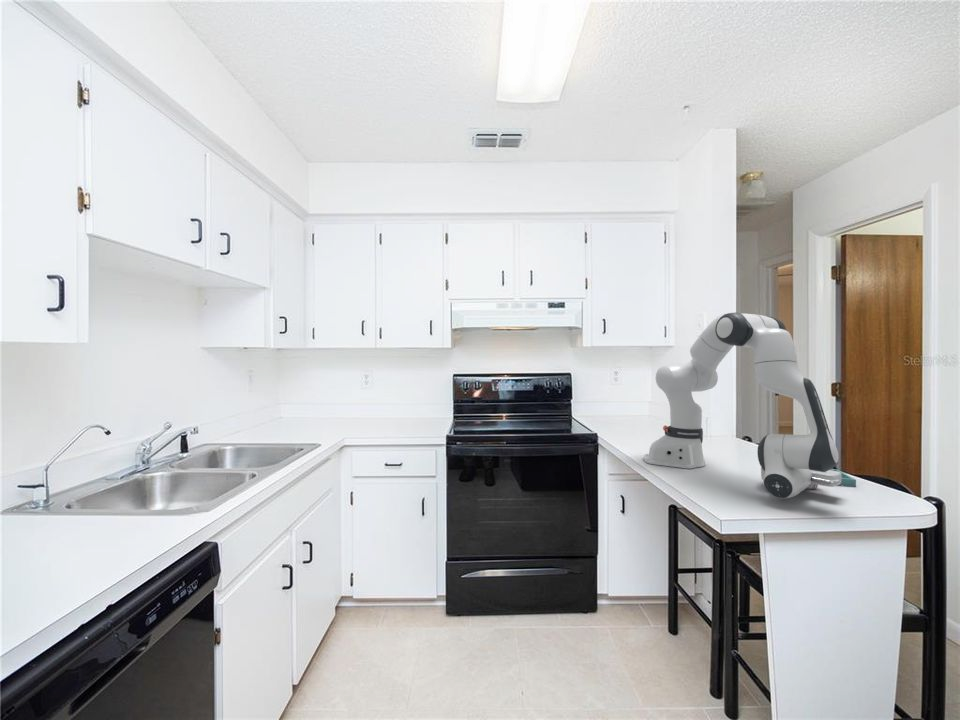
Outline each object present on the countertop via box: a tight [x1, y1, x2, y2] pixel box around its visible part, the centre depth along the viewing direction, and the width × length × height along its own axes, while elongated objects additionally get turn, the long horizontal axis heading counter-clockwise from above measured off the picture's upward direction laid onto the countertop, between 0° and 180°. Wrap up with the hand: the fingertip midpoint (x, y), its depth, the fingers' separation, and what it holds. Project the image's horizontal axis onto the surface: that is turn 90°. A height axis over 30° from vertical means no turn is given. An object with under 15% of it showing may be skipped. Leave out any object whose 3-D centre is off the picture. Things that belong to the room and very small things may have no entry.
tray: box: [830, 468, 857, 488], centre depth 150 cm, size 14×13×2 cm
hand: (805, 468), depth 142 cm, fingers closed on soda can, 7 cm apart
